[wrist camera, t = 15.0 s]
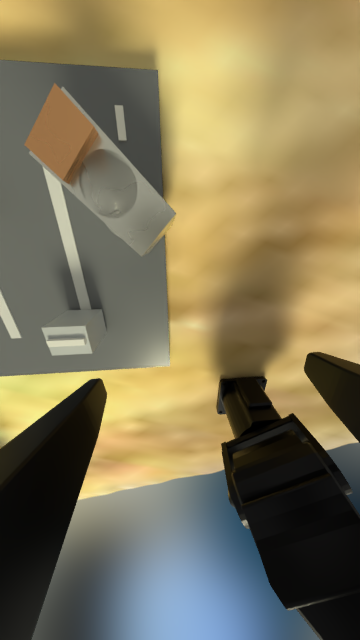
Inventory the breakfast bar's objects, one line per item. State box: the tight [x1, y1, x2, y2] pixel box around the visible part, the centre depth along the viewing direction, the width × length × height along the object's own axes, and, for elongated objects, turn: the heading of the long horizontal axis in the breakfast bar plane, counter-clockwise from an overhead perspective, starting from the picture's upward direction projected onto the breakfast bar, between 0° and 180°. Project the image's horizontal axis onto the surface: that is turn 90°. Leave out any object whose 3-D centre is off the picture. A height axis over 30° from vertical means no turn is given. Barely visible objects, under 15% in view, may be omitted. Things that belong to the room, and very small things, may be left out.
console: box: [0, 60, 170, 376], centre depth 15 cm, size 22×18×2 cm
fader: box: [42, 309, 107, 356], centre depth 14 cm, size 2×3×4 cm
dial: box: [24, 83, 176, 256], centre depth 10 cm, size 6×3×6 cm, turn 46°
